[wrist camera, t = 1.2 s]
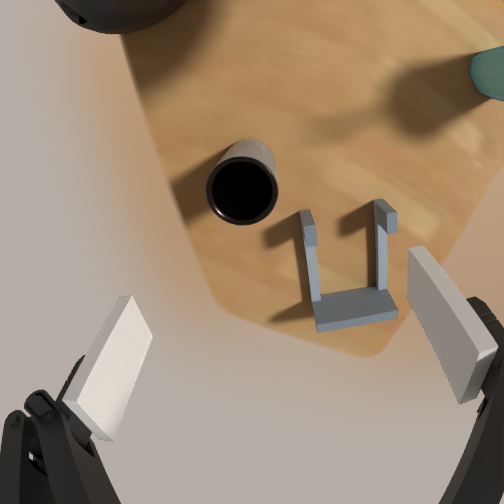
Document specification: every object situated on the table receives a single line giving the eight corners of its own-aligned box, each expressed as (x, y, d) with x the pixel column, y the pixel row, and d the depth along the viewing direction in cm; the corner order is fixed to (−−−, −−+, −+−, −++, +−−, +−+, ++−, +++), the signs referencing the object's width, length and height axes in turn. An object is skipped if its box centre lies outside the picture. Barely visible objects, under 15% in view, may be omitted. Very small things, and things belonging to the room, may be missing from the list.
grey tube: (215, 155, 29) (191, 182, 20) (256, 128, 27) (251, 141, 18) (243, 194, 30) (232, 238, 21) (283, 169, 29) (292, 202, 20)
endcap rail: (299, 211, 31) (304, 230, 26) (382, 198, 30) (401, 216, 25) (311, 303, 35) (317, 332, 31) (383, 291, 34) (397, 317, 30)
